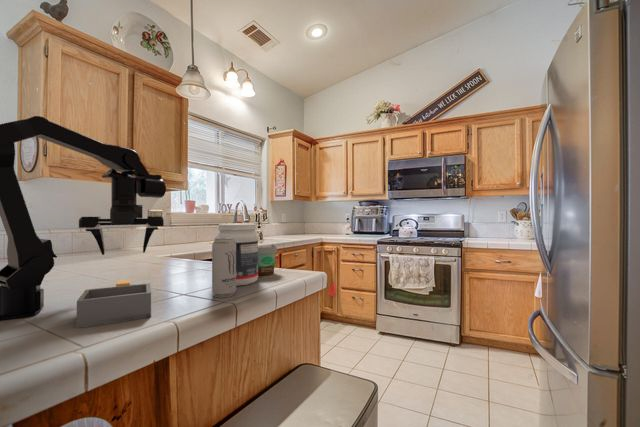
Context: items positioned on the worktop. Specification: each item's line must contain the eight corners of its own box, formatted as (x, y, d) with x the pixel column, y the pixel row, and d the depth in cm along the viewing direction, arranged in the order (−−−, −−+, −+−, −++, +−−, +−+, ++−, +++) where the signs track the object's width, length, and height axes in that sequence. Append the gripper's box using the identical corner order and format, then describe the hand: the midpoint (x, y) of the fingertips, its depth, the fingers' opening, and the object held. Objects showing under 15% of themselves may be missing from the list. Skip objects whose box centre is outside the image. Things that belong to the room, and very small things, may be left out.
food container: (258, 278, 99) (258, 248, 99) (246, 276, 103) (246, 247, 103) (284, 273, 109) (284, 245, 109) (272, 271, 112) (272, 244, 112)
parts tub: (76, 328, 55) (76, 301, 55) (85, 313, 64) (85, 289, 64) (151, 317, 61) (151, 292, 62) (150, 304, 70) (150, 283, 70)
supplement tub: (206, 283, 92) (206, 223, 92) (239, 276, 102) (239, 223, 103) (234, 289, 85) (234, 224, 85) (266, 281, 95) (266, 223, 95)
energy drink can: (226, 298, 75) (226, 239, 75) (206, 296, 77) (207, 238, 77) (240, 293, 81) (240, 237, 81) (222, 291, 83) (222, 236, 83)
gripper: (74, 193, 69) (74, 260, 69) (164, 195, 79) (164, 254, 79) (82, 195, 79) (82, 254, 79) (162, 197, 89) (162, 250, 88)
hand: (124, 253), depth 81 cm, fingers open, 9 cm apart
